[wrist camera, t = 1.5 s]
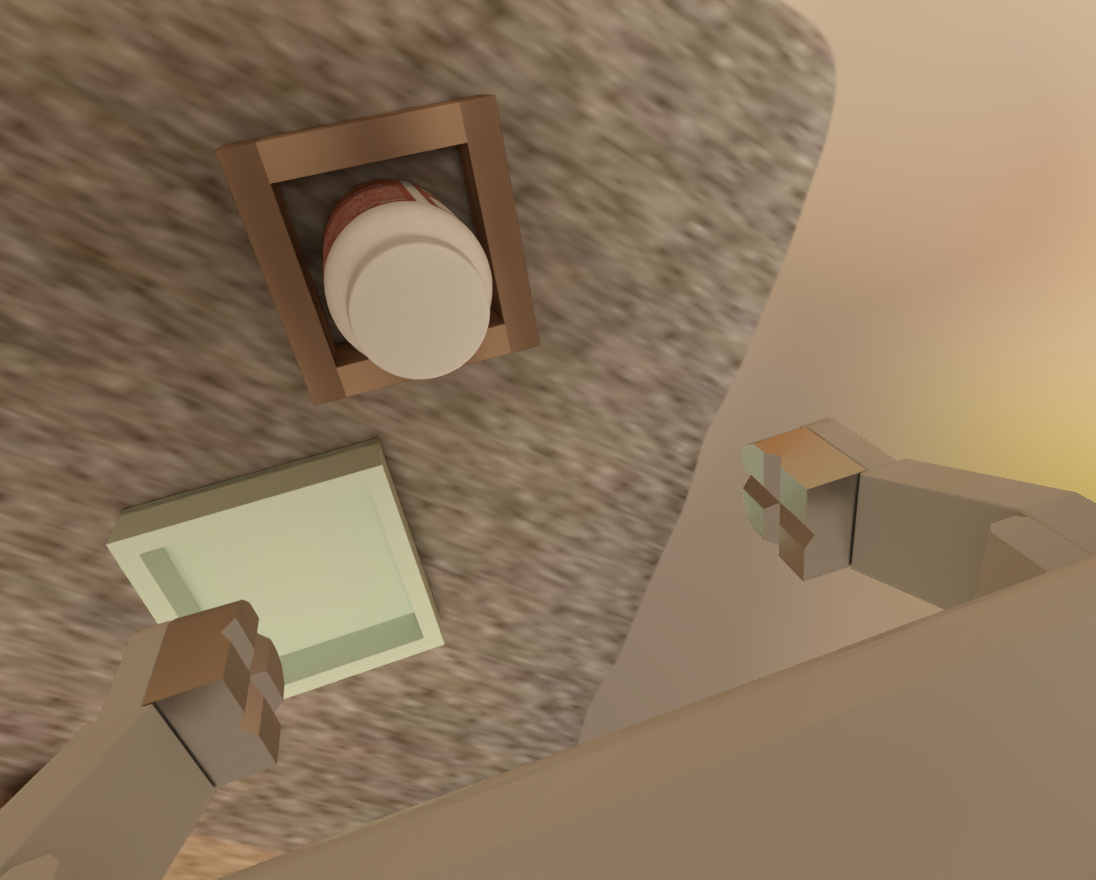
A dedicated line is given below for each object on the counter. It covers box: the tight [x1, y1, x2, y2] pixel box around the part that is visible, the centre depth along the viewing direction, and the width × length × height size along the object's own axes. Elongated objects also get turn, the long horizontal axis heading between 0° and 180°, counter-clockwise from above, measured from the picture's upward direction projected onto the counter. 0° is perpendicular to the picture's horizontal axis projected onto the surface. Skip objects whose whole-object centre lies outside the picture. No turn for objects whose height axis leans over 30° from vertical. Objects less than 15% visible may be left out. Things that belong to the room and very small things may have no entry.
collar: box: [215, 94, 540, 406], centre depth 30 cm, size 11×11×3 cm
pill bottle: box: [323, 179, 492, 379], centre depth 26 cm, size 6×6×11 cm
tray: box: [106, 438, 444, 699], centre depth 36 cm, size 13×13×3 cm
